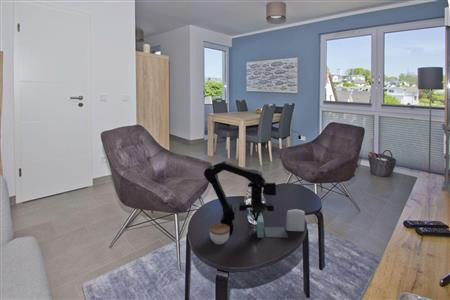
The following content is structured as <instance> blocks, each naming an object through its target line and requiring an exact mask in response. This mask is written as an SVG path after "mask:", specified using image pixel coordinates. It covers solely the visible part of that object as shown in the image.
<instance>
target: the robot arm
mask: <svg viewBox="0 0 450 300" xmlns="http://www.w3.org/2000/svg"><path fill="white" fill-rule="evenodd" d="M223 171H226V172H229V173H231V174H234V175H238V176H240V177H243V178H245V179H246V180H248V181H249V182H248V184H247V187H248V188H250V189H251V190H250V204H247V202H246V201H245V202H244V201H243V202H242V201H240V202H238V211H240V212H242V211H243V212H245V211H247V209H248V212H249V213H251V214H252V216H253V219H254V221H255V222H257V219H258V216H260V215H261V213H263V212H264V211H266V210H267V212H274V211H275V205H274V203H273V202H267V201H266V202H263V201H262V196H263V195H265V196H272V197H273V196H277V187H276V185H277V184H276V182H267V181H266V180H265V178H264V177H263V173H262V171H260V170H256V169H247V168H244V167H241V166H239V165H235V164H232V163H230V162H227V161H226V160H223V161H221V162H219V163H216V164H214V165H208V166H207V167H206V168H205V170H204V172H203V176H204V178H205V179H206V181H208V183H210V184H211V186H212V188H213V190H214V193H215V194H216V197H217V198H218V201H219V203H220V205H221V206H222V207H221V208H222V215H221V218H220V220H219V221H220V222H219V223H222V224H226V225H228V226H229V227H230V233H229V235H233V232H234V223H233V221H234V220H235V218H236V214H237V208H236V207H235V204H234V203H230V201H229V199H228V197H227V196H226V192H225V191H224V188H223V186H222V185H221V183H220V180H219V175H218V174H220V173H221V172H223Z"/></svg>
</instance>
